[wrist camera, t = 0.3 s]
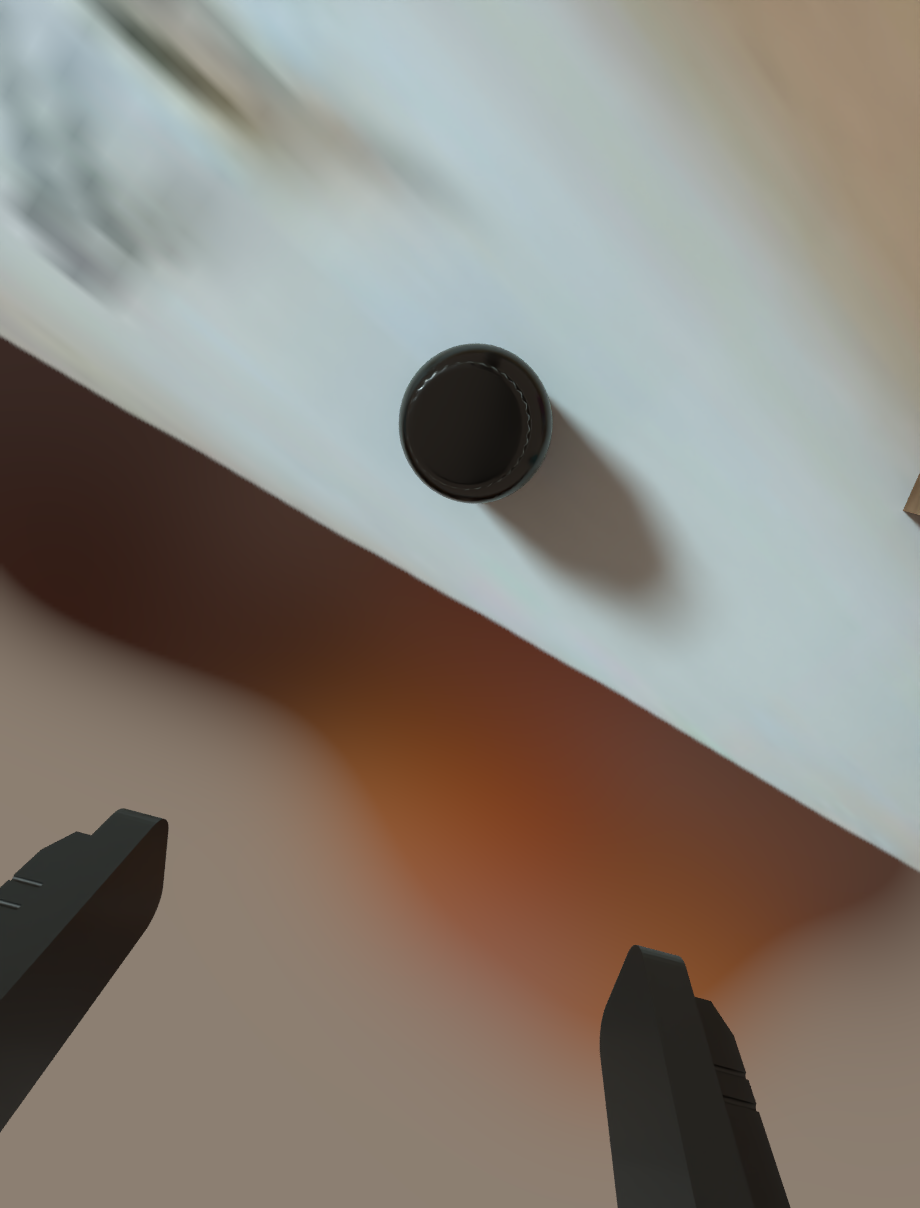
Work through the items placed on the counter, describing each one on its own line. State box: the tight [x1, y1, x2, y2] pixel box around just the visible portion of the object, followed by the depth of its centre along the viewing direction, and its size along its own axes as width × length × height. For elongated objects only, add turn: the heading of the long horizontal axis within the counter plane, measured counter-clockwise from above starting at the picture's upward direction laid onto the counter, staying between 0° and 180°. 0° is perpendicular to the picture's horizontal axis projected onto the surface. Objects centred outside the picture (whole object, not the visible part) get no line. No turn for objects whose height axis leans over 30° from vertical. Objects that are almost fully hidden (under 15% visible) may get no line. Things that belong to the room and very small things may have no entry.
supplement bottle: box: [399, 344, 552, 503], centre depth 30 cm, size 7×7×12 cm
